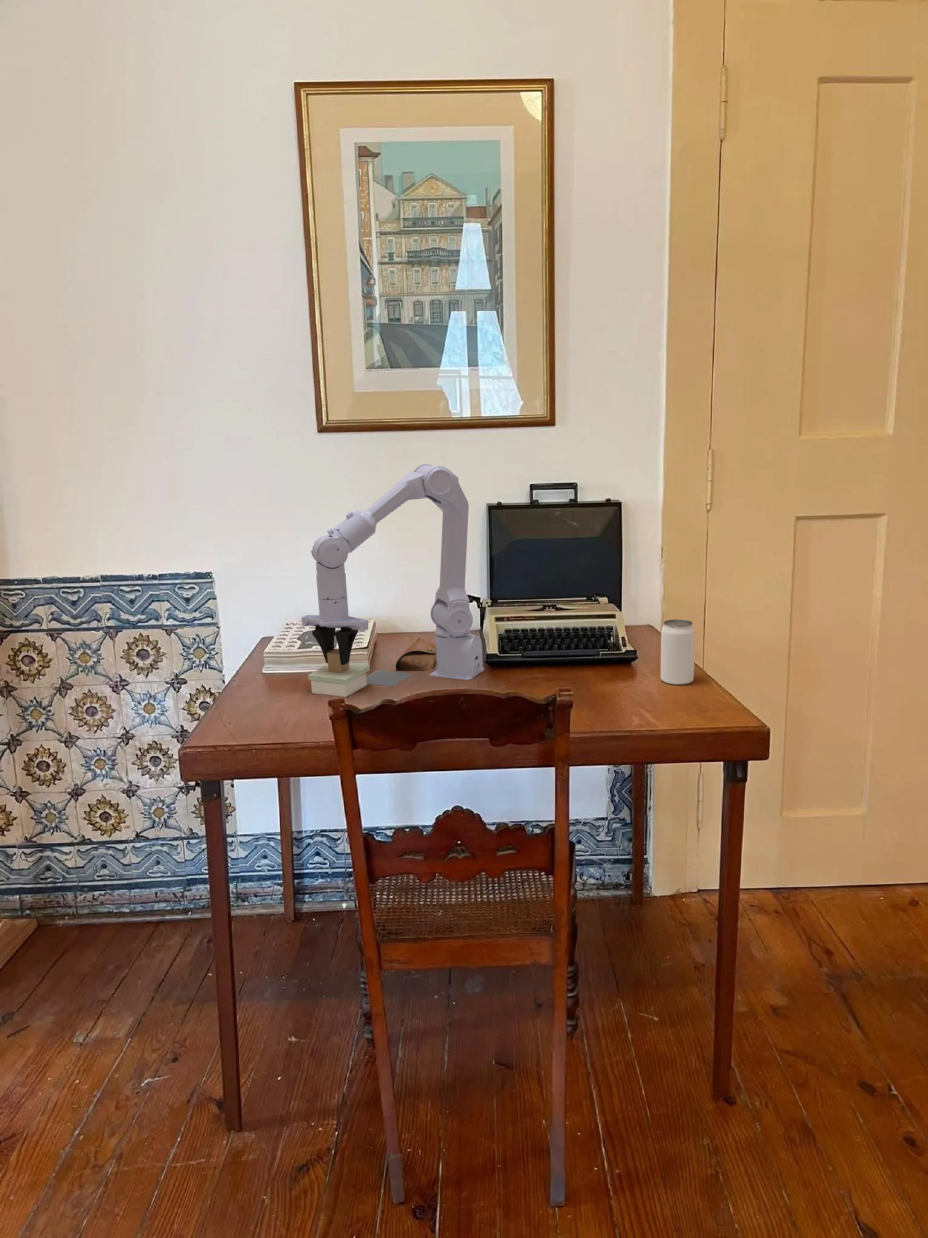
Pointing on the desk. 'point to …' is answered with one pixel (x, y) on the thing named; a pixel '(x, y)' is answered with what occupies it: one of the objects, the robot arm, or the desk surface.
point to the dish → (339, 687)
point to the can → (677, 652)
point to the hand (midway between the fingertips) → (337, 662)
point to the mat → (386, 678)
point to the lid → (338, 670)
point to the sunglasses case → (418, 657)
